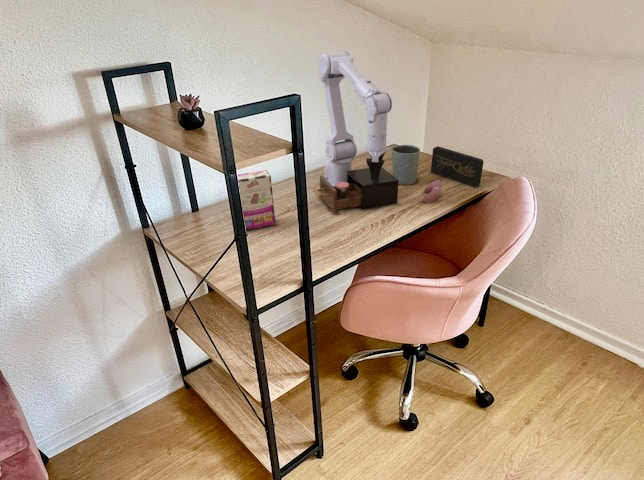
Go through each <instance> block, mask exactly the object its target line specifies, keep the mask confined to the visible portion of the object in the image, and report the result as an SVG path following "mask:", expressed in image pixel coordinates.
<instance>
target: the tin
mask: <svg viewBox="0 0 644 480" xmlns="http://www.w3.org/2000/svg"><path fill="white" fill-rule="evenodd" d="M335 189H336V190H337V200H341V199H347V198H349V183H347V182H337V183H336V184H335Z"/></svg>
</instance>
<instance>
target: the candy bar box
mask: <svg viewBox="0 0 644 480" xmlns="http://www.w3.org/2000/svg"><path fill="white" fill-rule="evenodd" d="M237 175H238V183H239V189H240V197H241V202H242V208H243V214H244V222H245V226H246V231H250V230H256V229H262V228H265V227H270V226H275V225H276V217H275V205H274V196H273V195H274V194H273V185H272V175H271V174H270V173H269V172H268V170H267V169H265V170H258V171H251V172H245V173H239V174H237Z"/></svg>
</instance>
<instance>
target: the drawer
mask: <svg viewBox="0 0 644 480" xmlns="http://www.w3.org/2000/svg"><path fill="white" fill-rule="evenodd" d="M312 191H313V192H314V194H315V195H316V196H317V198H318V199H319V200H322V201H323V202H324V204H325V205H326V206H327V207H328V208H329V209H330V211H331V212H332V213H333V214H335V215H336V214H338V210H340V209H341V210H342V209H346V208H352V207H357V206H358V207H359V205H361V204H362V189H361V188H360V187H359V186H358V185H357V184H356V183H352V184H349V198H347V199H341V200H337V190H336V189H335V186H332V185H331V184H330V183H329V182H328V181H327V180H326V179H325V176H324V175H319V188H316V187H314V188H313V189H312Z"/></svg>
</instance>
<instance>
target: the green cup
mask: <svg viewBox="0 0 644 480" xmlns="http://www.w3.org/2000/svg"><path fill="white" fill-rule="evenodd" d="M420 154H421V148H420V147H418V146H416V145H412V144H399V145H395V146H393V147H392V148H391V159H392V160H391V161H392V163H391V164H392V175H393V176H394V177H395V178H396V179H398V180H399V182H398V185H400V186H409V185H414V184H415V183H416V182H417V177H418V170H419V160H420Z"/></svg>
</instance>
